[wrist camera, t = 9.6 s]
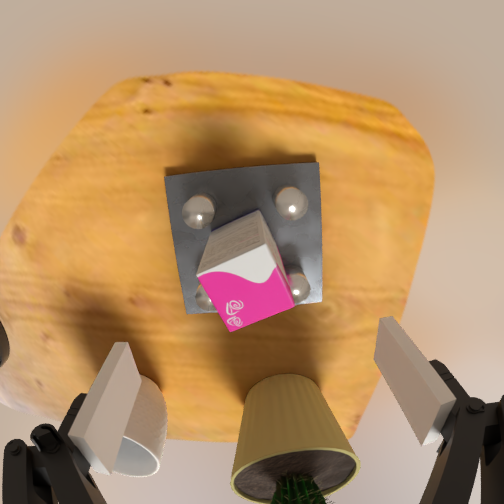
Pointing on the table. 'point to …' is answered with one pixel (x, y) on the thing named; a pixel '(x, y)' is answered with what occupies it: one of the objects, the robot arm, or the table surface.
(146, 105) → the table surface
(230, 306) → the supplement box
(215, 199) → the chassis
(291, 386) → the potted cactus
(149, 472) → the mug
